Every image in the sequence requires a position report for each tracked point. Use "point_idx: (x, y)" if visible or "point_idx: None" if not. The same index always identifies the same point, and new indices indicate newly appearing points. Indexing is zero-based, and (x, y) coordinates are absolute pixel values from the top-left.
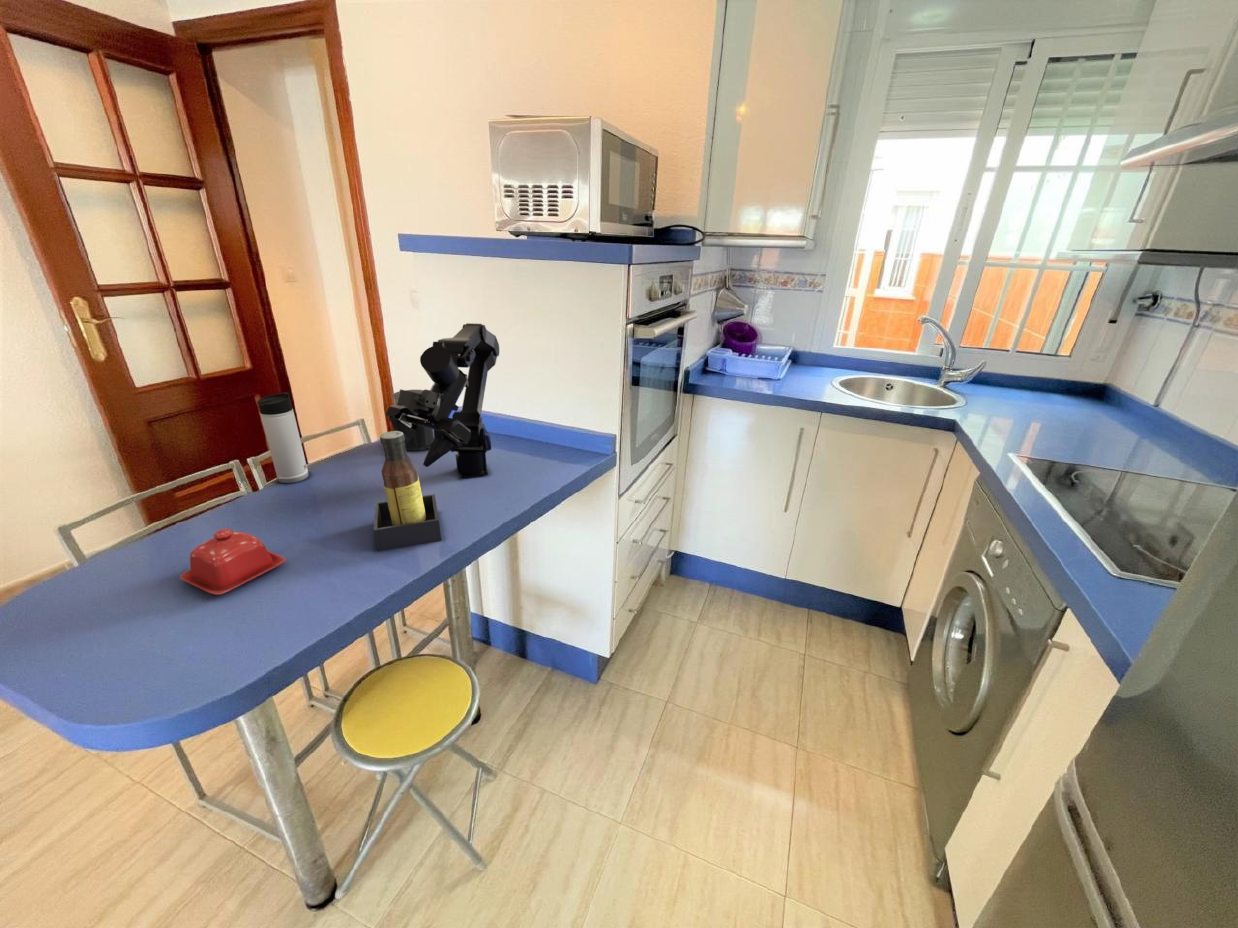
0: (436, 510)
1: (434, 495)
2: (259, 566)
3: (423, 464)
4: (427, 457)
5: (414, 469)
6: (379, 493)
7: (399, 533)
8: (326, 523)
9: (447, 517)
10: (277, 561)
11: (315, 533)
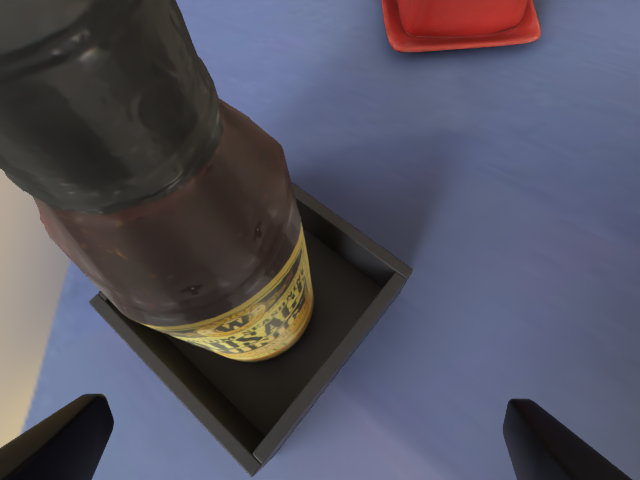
0: (141, 354)
1: (242, 465)
2: (399, 2)
3: (97, 394)
4: (23, 444)
5: (57, 244)
6: (630, 460)
7: None
8: (526, 204)
9: (212, 452)
10: (406, 41)
11: (490, 159)
